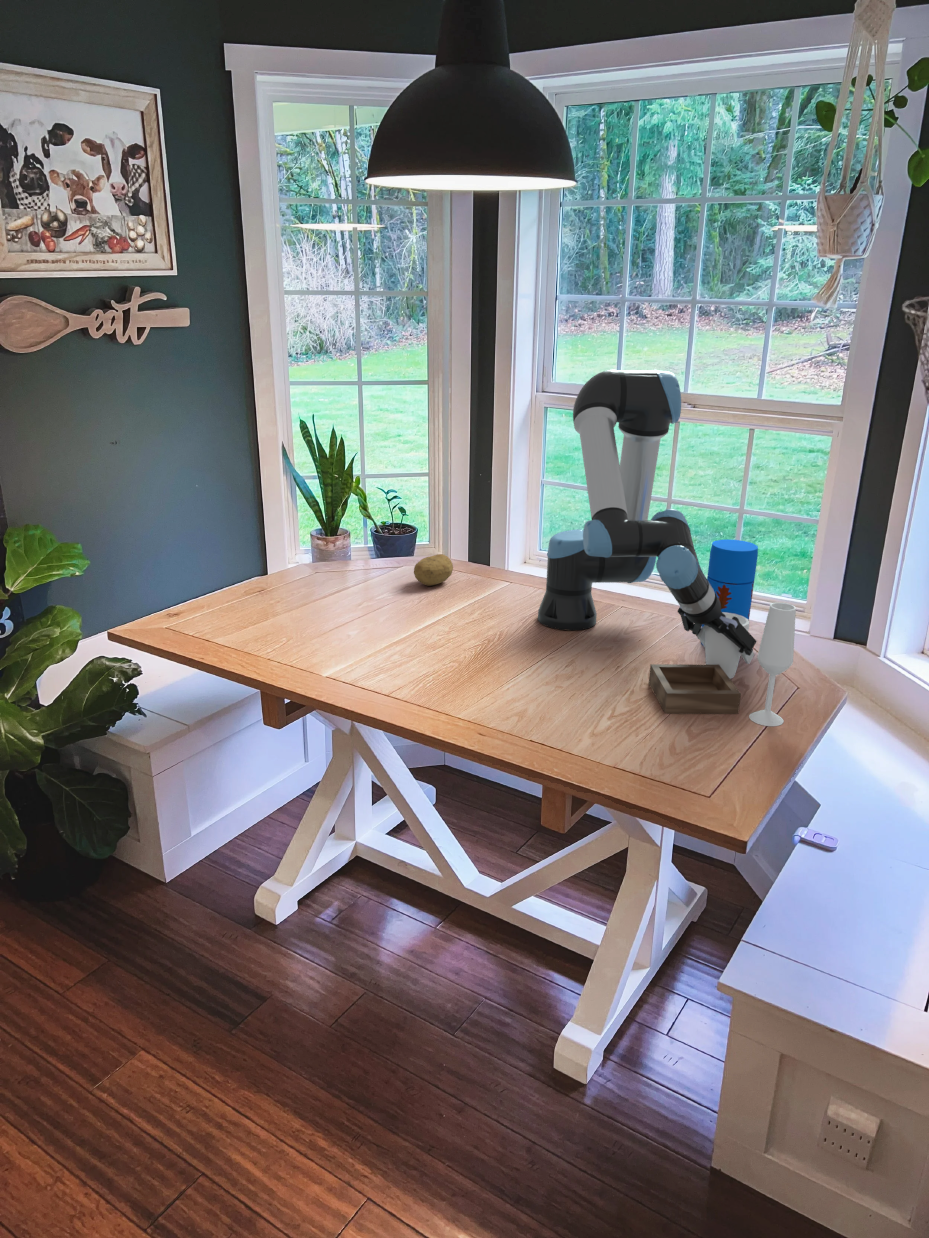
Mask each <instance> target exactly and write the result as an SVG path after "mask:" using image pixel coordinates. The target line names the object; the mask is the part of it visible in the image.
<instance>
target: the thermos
mask: <svg viewBox="0 0 929 1238" xmlns="http://www.w3.org/2000/svg"><path fill="white" fill-rule="evenodd" d="M758 551H759V546H758V545H757V544H755V543H753V542H750V541H746V540H739V539H718V540H714V541H712V543H711V547H710V551H709V552H710V553H709V560H708V568H707V569H708V570H707V577H706V579H707V580H708V581H709V583H710V585H711V586H712V588H713V590H714V592H715V594H716V595H717V597H718V599H719V600H720V603H721V612H726V613H733V614H737V615H741V616H743V617H745V618H747V619H748V620H749V621H750V617H751V616H750V614H751V610H752V609H751V607H752V599H753V593H754V584H755V578H756V572H757V571H756V570H757V565H758V557H759V552H758ZM703 626H704V625H702V626H701V628H702V627H703ZM700 644H701V645H702V646H703V644H702V643H701V642H700Z"/></svg>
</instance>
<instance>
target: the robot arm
mask: <svg viewBox="0 0 929 1238" xmlns="http://www.w3.org/2000/svg"><path fill="white" fill-rule="evenodd" d="M681 394H682V393H681V388H680V383H679V380H678V378H677V376H676V375H675V374H674V373H673V372H671V371H669V370H667V371H665V370H657V369H650V370H649V369H647V370H645V369H641V370H640V369H639V370H638V369H637V370H636V369H632V370H631V369H629V370H628V369H625V370H621V369H620V370H617V369H609V370H608V369H607V370H604V371H600V372H599V373H597V374H595V375H593V376H592V377H591V378H590V379H589V380H588V381H586V382H585V383H584V385H582V387H581V389H580V391H579V392H578V394H577V395H576V399H575V401H574V404H573V409H572V410H573V411H572V420H573V427H574V430H575V431H576V432H577V434H579V439H580V446H581V453H582V459H583V468H584V473H585V475H584V476H585V482H586V490H587V494H588V495H587V496H588V502H589V510H590V517H591V519H590V520H587V521H586V522H585V523H584V526H583V529H580V528H579V529H569V530H568V529H567V530H563V531H560V532H557V533H555V534H553V535H552V536H551V537H550V539H549V542H548V548H547V552H546V556H547V563H546V564H547V565H546V582H545V583H546V587H545V593H544V595H543V597H542V599H541V600H542V601H541V603H540V605H539V607H538V611H537V621H538V622H539V623H540V624H541V625H543V626H545V627H549V628H550V629H556V630H561V631H562V630H563V631H581V630H587V629H590V628H592V627H593V626H595V625H596V624H597V614H598V613H597V611H596V607H595V603H594V599H593V594H592V590H593V589H592V587H593V584H594V583H595V584H596V583H599V584H600V583H601V584H602V583H603V584H604V583H609V584H610V583H612V584H614V583H616V584H617V583H618V584H619V583H627V584H632V583H642V582H645V581H646V580H648V579H649V578H650V577H651V576H652V573H653V571H654V569H655V566H656V570H657V573H658V575H659V577H660V580H661V581H662V582H663V584H664V585H665V586H666V587H667V589H668V590H669V591H670V593H671V594H672V596H673V598H674V599H675V601H676V602H677V604H678V605H679V607H678V608H677V613H678V614H679V616H680V619H681V623H682V626H683V629H684V631H685V632H690V631H691V633H692V634H693V635H695V636H696V638H697V639H698V640H699V641H700V644H701V643H702V644H703V645H702V644H701V645H702V646H703V647H704V648H705V628H704V626H703V627H702V625H706V626H708V627H711V628H713V629H714V630H715V631H716V632H717V633H722V634H723V635H725V636H726V637H727V638H728V639H729V640H731V641H732V642H733V643H734V644H735V645H737V646H738V651H739V653H740V654H741V656H740V657H742V659H743V661H744V663H745V664H747V665H750V664H751V661H752V660H753V658H754V656H755V652H754V647H755V645H756V643H757V642H758V641H757V640H756V639H755V637H754V636H752V635H751V633H750V632H749V630H748V631H747V630H746V629H745V628H744V627H743V626H742V625H741V623H740V622H739V619H738V618H737V617H733V618H732V619H729V618H726V616H725V615H724V614H723V613H722V612H721V603H720V600H719V599H718V597H717V595H716V594H715V592H714V590H713V588H712V586H711V585H710V583H709V581H708V580H707V577H706V576H705V572H704V571H703V570H702V567H701V565H700V562H699V558H698V555H697V551H696V549H695V547H694V542H693V539H692V533H691V532H692V531H691V528H690V526H689V523H688V520H687V519H686V517H685V515H684V514H683V513H682V512H681V511H680V510H677V509H673V508H666V509H664V510H663V511H658V512H656V513H655V514H653V516H652V518H651V519H650V520H649V519H648V518H649V513H650V507H651V502H652V493H653V489H654V480H655V475H656V470H657V469H656V468H657V464H658V463H657V462H658V458H659V449H660V444H661V439H662V438H664V437H665V436H666V435H668V433H669V431H670V424H671V425H674V424H676V423H678V422H679V420H680V418H681V413H682V395H681ZM617 423H618V430H620V432H621V433H622V434H623V437H622V438H623V439H622V447H621V454H620V458H619V454H618V447H617V440H616V433H615V429H614V428H615V427H616V426H617ZM701 627H702V628H701ZM718 627H720V628H718Z"/></svg>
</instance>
